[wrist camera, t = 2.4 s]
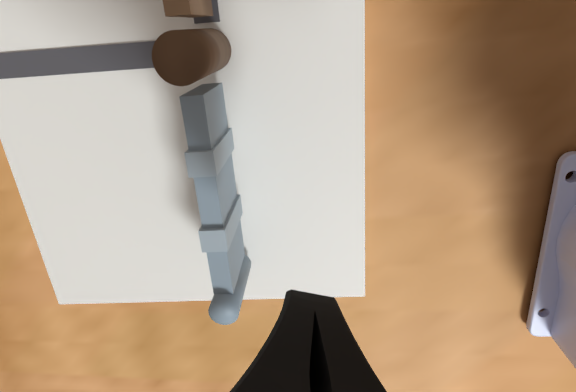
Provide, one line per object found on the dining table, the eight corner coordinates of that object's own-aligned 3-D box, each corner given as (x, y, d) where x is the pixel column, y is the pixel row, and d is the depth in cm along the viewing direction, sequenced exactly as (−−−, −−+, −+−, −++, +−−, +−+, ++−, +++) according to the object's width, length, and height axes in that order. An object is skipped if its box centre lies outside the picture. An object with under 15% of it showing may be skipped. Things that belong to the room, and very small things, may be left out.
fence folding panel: (252, 273, 20) (240, 324, 16) (228, 274, 20) (210, 325, 16) (227, 81, 16) (206, 96, 13) (198, 83, 16) (169, 99, 13)
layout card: (364, 292, 21) (365, 297, 20) (62, 300, 22) (58, 305, 22) (363, -278, 12) (364, -286, 12) (-117, -211, 14) (-128, -217, 13)
